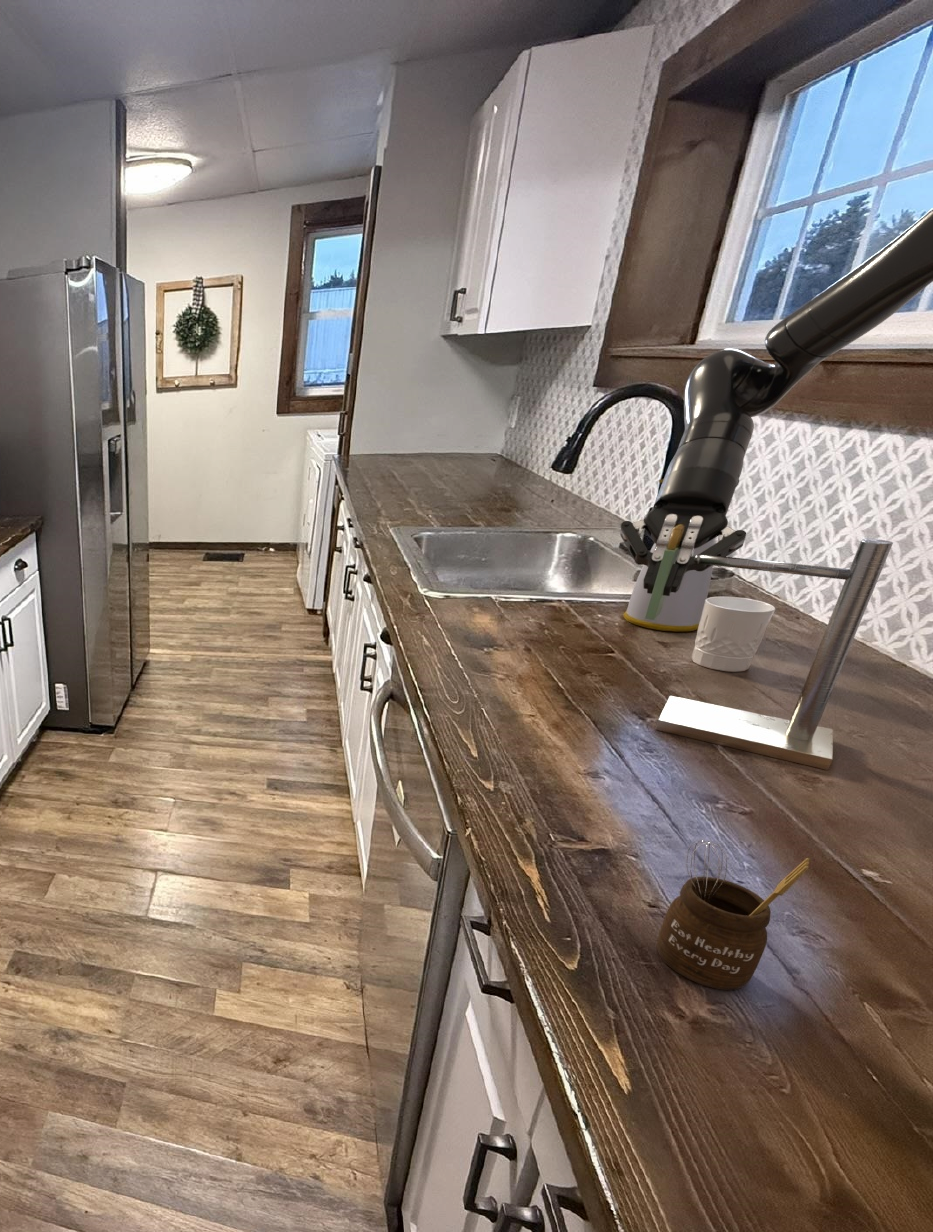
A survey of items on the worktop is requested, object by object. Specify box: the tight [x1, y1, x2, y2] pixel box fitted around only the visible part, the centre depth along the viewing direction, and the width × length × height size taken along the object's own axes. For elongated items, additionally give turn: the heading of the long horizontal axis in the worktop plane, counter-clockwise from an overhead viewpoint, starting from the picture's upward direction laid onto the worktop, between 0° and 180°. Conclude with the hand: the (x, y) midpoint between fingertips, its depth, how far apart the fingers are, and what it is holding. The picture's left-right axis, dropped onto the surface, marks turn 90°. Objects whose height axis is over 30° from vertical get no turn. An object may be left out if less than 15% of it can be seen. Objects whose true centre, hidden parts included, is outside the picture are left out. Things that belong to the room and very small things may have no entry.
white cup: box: [691, 595, 776, 673], centre depth 111 cm, size 8×8×10 cm
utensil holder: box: [656, 840, 810, 991], centre depth 56 cm, size 6×6×12 cm
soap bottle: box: [622, 478, 715, 633], centre depth 126 cm, size 11×12×26 cm
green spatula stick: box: [645, 524, 685, 620], centre depth 93 cm, size 1×6×12 cm, turn 134°
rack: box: [654, 538, 894, 771], centre depth 88 cm, size 18×10×26 cm, turn 44°
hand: (658, 591), depth 93 cm, fingers closed on green spatula stick, 1 cm apart
